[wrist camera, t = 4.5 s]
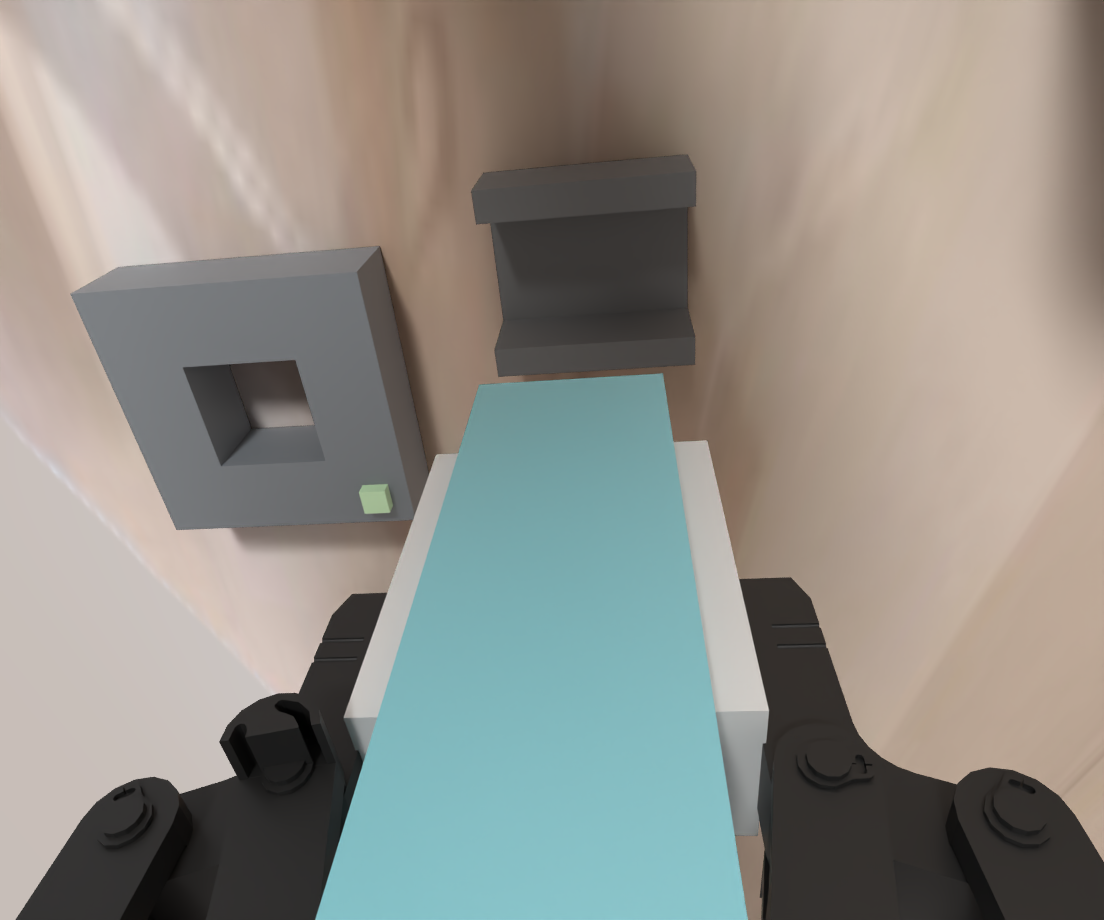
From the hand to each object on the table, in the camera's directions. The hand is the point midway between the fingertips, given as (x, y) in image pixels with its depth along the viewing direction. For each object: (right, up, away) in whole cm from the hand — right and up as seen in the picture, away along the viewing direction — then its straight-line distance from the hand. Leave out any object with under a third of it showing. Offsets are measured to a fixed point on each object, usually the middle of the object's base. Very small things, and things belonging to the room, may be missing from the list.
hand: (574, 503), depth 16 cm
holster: (+1, +10, +16) cm, 19 cm away
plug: (0, +1, +2) cm, 2 cm away
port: (-13, +5, +20) cm, 24 cm away
